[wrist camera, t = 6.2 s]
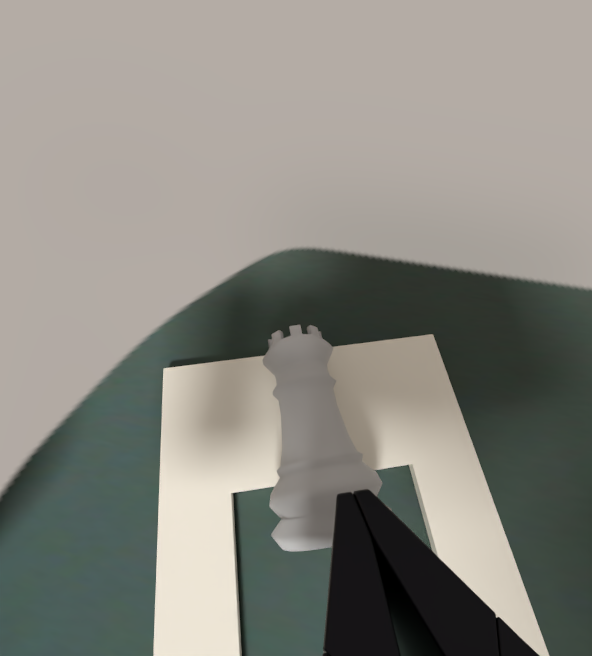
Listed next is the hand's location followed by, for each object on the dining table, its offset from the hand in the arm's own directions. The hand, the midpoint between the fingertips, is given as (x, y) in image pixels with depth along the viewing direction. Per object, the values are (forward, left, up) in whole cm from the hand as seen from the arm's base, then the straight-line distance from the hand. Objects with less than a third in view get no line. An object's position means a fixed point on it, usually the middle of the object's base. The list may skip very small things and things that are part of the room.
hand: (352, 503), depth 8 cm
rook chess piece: (-1, -1, -4) cm, 5 cm away
